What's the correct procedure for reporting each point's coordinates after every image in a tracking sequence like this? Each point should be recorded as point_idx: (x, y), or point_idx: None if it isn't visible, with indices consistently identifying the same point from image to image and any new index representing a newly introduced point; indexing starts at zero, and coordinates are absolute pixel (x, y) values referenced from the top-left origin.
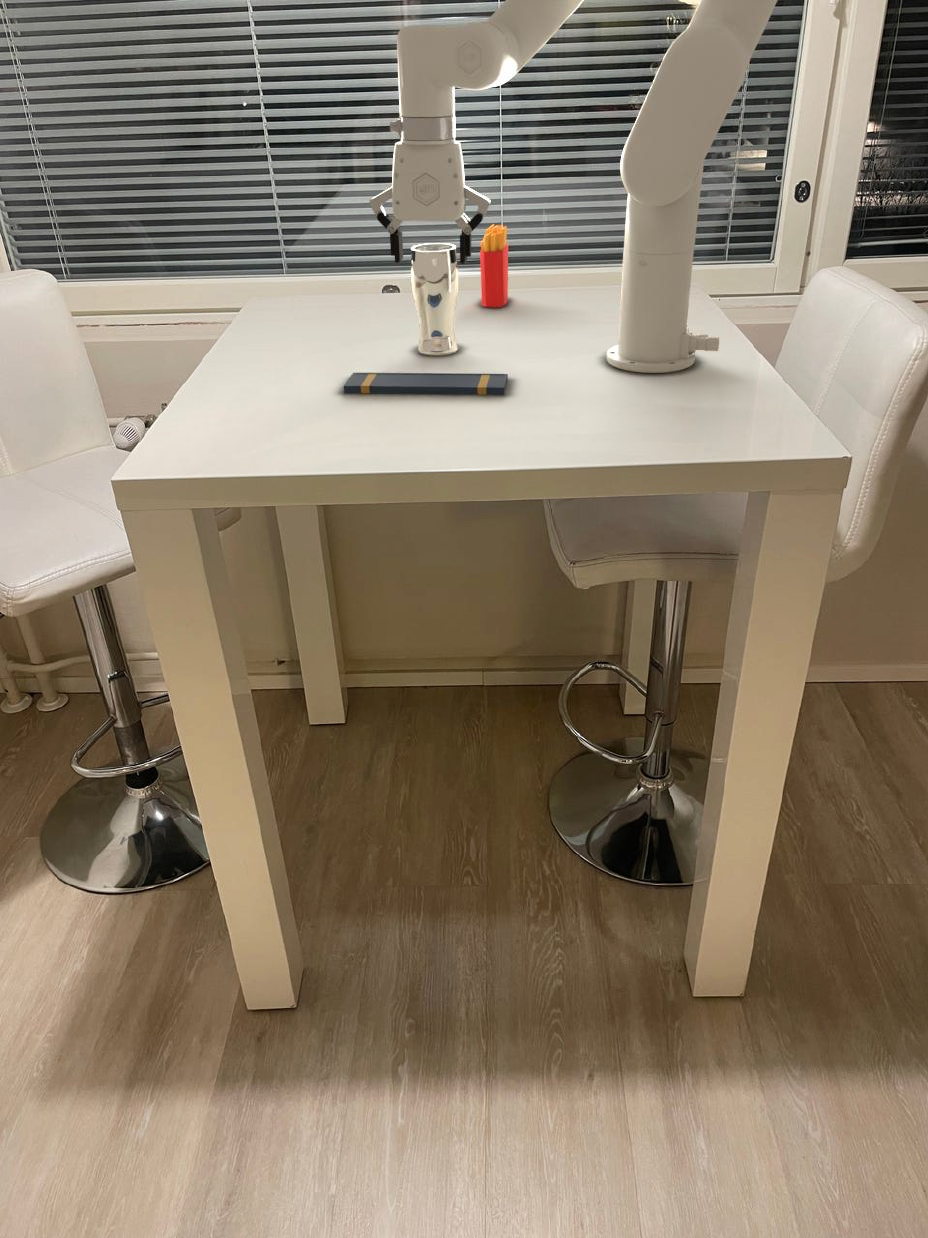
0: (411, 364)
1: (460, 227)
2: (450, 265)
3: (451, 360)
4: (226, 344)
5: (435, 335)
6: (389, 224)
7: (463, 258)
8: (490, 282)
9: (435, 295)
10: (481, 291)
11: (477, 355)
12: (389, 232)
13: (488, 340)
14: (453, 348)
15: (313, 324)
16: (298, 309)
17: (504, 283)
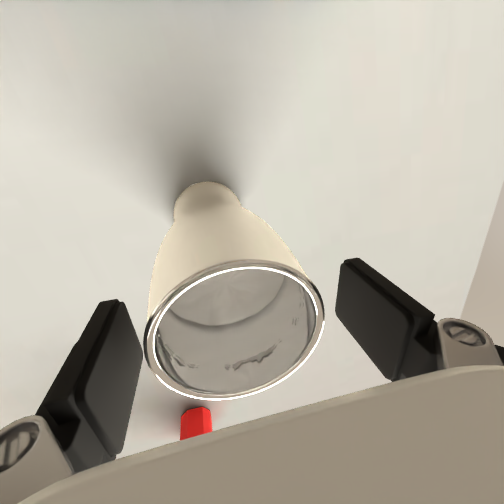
0: (232, 121)
1: (54, 450)
2: (156, 273)
3: (163, 156)
4: (497, 198)
5: (205, 193)
6: (494, 349)
7: (100, 309)
8: None
9: (203, 207)
10: (211, 428)
11: (125, 195)
12: (455, 320)
13: (141, 282)
14: (175, 204)
15: None
16: None
17: None
